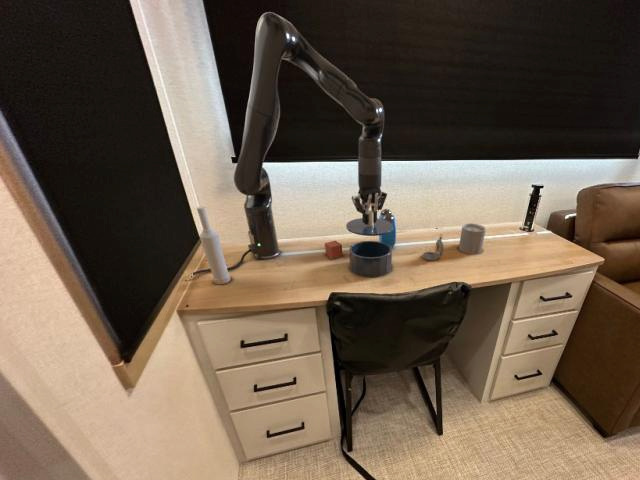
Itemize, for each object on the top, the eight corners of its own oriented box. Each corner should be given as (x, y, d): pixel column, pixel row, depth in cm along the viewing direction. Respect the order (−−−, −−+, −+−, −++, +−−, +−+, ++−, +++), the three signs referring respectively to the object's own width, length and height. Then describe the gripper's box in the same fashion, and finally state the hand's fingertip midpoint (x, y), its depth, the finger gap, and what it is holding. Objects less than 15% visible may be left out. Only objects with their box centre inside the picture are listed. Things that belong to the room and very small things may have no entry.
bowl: (366, 281, 111) (365, 262, 107) (342, 264, 121) (341, 246, 117) (399, 269, 120) (400, 251, 116) (374, 255, 130) (375, 237, 125)
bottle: (217, 276, 109) (195, 204, 95) (233, 276, 109) (213, 205, 96) (211, 284, 104) (187, 210, 91) (227, 284, 105) (205, 210, 91)
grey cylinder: (484, 253, 136) (489, 231, 130) (462, 254, 135) (466, 231, 129) (474, 241, 147) (478, 220, 141) (454, 241, 146) (457, 220, 140)
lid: (364, 241, 102) (363, 222, 99) (337, 226, 112) (336, 208, 109) (402, 231, 111) (403, 214, 108) (374, 218, 122) (374, 202, 118)
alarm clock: (395, 251, 134) (396, 216, 125) (381, 251, 133) (381, 216, 124) (391, 239, 144) (392, 206, 136) (378, 239, 143) (378, 206, 135)
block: (331, 259, 125) (330, 247, 122) (325, 254, 128) (324, 243, 125) (342, 256, 127) (342, 244, 125) (336, 251, 130) (335, 240, 128)
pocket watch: (419, 257, 130) (421, 234, 124) (431, 251, 135) (434, 229, 130) (434, 264, 125) (437, 240, 120) (447, 257, 130) (450, 235, 125)
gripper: (379, 167, 108) (379, 216, 117) (345, 171, 100) (347, 223, 109) (393, 171, 103) (391, 222, 112) (358, 175, 95) (359, 230, 104)
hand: (369, 223), depth 111 cm, fingers closed on lid, 2 cm apart
